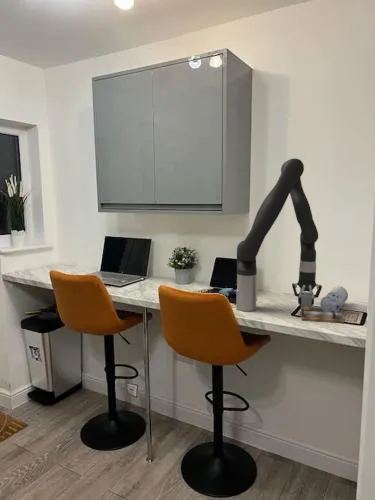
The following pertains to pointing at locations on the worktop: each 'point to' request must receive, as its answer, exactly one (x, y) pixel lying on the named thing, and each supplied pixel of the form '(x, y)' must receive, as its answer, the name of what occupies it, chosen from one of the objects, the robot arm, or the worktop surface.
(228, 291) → the pistol
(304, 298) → the din module
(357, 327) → the worktop surface
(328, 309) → the pencil case
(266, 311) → the worktop surface
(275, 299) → the worktop surface
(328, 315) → the rail board
